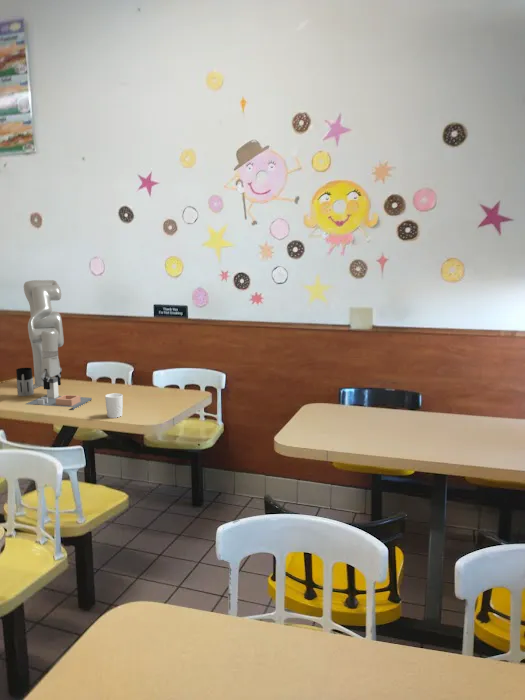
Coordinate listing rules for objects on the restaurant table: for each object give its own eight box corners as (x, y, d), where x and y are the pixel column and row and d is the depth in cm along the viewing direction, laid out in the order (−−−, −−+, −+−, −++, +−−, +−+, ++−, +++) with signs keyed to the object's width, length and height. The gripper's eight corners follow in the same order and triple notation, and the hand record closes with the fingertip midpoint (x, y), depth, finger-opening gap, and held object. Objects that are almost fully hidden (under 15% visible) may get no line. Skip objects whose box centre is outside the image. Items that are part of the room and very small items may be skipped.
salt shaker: (51, 395, 284) (50, 377, 282) (58, 396, 283) (57, 377, 282) (47, 397, 280) (45, 378, 278) (54, 398, 279) (53, 379, 278)
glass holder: (35, 394, 293) (33, 367, 291) (33, 400, 280) (31, 372, 277) (17, 395, 291) (15, 367, 288) (14, 402, 277) (12, 373, 275)
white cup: (103, 418, 251) (102, 397, 249) (110, 413, 259) (109, 392, 257) (119, 418, 250) (118, 397, 248) (126, 414, 258) (125, 393, 256)
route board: (45, 397, 286) (45, 389, 285) (91, 400, 281) (91, 392, 280) (25, 407, 269) (24, 398, 268) (73, 410, 264) (72, 401, 263)
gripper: (53, 351, 287) (55, 383, 290) (33, 357, 270) (35, 390, 273) (66, 351, 286) (68, 383, 288) (47, 357, 269) (49, 391, 271)
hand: (52, 387), depth 281 cm, fingers open, 9 cm apart
